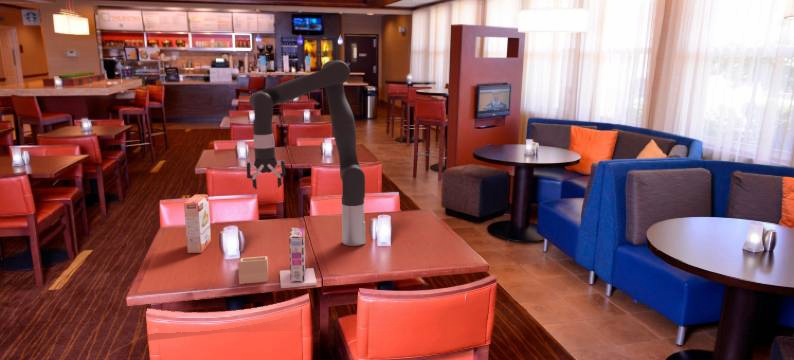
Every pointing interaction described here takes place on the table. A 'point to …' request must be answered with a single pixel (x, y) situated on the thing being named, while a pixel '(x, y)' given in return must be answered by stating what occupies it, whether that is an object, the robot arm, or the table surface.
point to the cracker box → (197, 223)
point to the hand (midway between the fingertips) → (267, 187)
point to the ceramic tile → (287, 283)
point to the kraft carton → (253, 270)
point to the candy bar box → (297, 254)
